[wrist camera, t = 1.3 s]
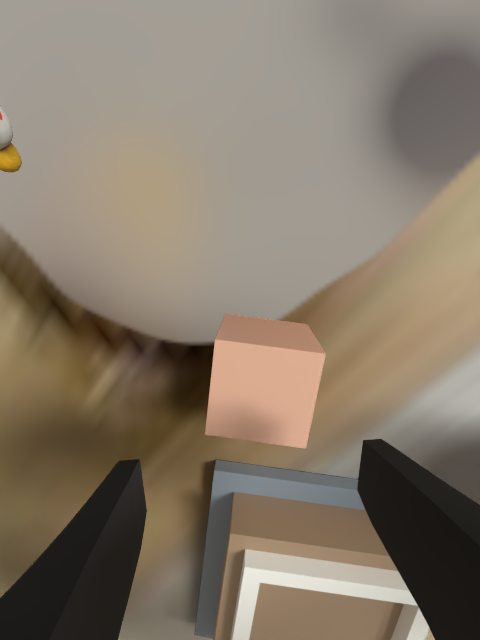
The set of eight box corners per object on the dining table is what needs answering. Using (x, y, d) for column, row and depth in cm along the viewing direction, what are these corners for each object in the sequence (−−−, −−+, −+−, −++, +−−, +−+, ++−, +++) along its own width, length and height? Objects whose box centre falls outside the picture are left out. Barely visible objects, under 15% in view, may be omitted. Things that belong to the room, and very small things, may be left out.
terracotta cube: (306, 323, 18) (325, 353, 13) (293, 397, 19) (305, 448, 15) (225, 313, 18) (214, 339, 13) (217, 386, 20) (204, 434, 15)
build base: (446, 491, 21) (504, 568, 16) (388, 648, 25) (420, 747, 20) (216, 459, 21) (204, 525, 16) (196, 619, 25) (182, 710, 20)
